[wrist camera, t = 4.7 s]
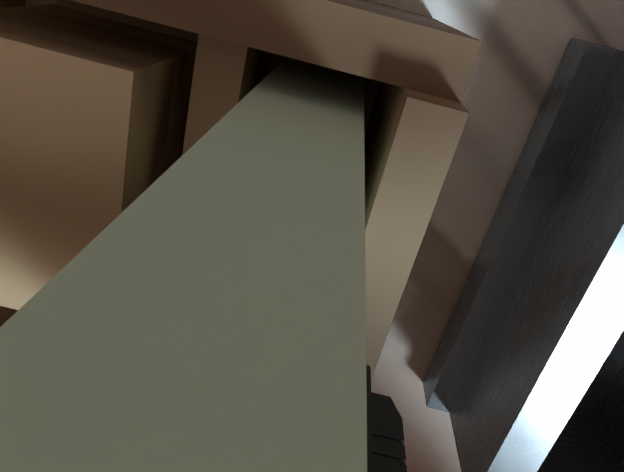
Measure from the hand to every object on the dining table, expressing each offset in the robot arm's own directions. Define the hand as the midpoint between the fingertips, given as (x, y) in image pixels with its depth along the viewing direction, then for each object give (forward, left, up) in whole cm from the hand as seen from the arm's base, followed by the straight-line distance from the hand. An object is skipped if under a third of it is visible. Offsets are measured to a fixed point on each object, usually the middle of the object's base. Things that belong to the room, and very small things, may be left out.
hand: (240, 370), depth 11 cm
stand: (0, +12, -11) cm, 16 cm away
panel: (0, 0, -9) cm, 9 cm away
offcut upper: (-1, -6, -6) cm, 9 cm away
